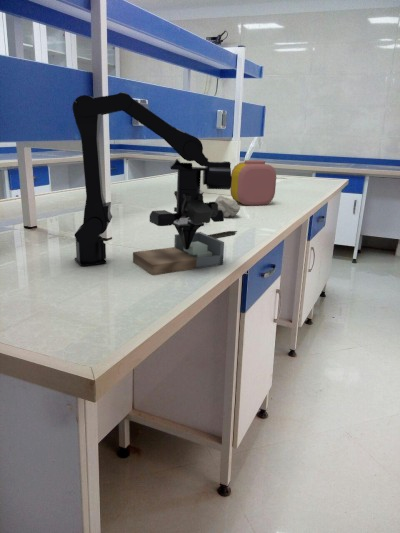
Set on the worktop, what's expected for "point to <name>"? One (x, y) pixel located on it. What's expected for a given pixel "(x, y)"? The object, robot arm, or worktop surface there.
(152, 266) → the walnut ledge
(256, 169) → the alarm clock
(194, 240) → the box
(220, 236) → the knife
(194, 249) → the tile
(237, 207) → the fossil replica
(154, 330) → the worktop surface
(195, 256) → the tile
